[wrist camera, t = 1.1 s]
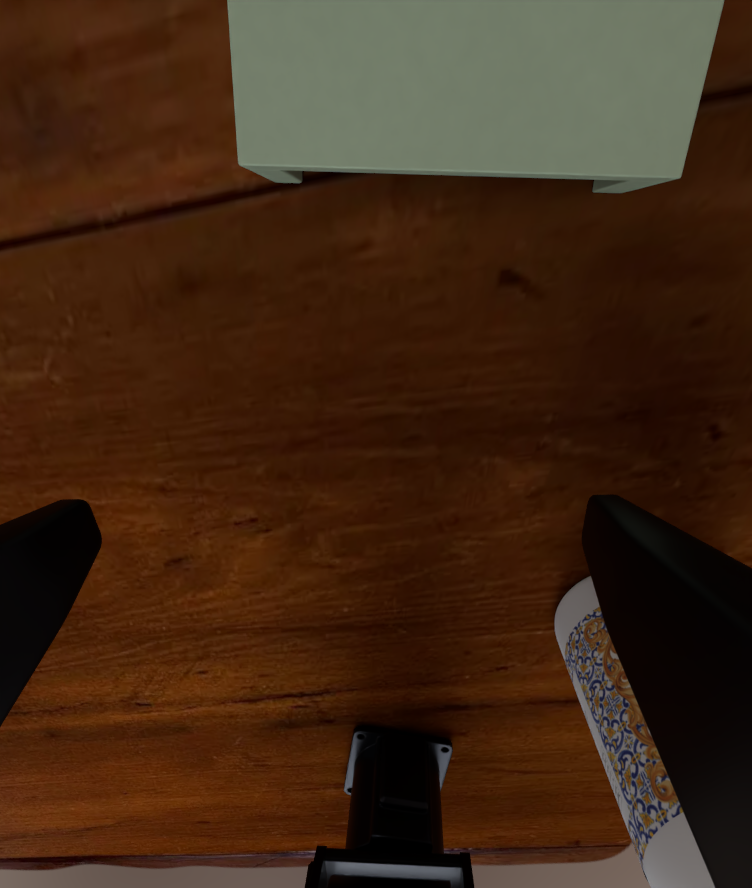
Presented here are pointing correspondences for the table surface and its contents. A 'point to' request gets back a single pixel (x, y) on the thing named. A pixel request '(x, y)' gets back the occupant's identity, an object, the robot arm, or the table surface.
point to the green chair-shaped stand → (470, 87)
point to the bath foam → (627, 746)
